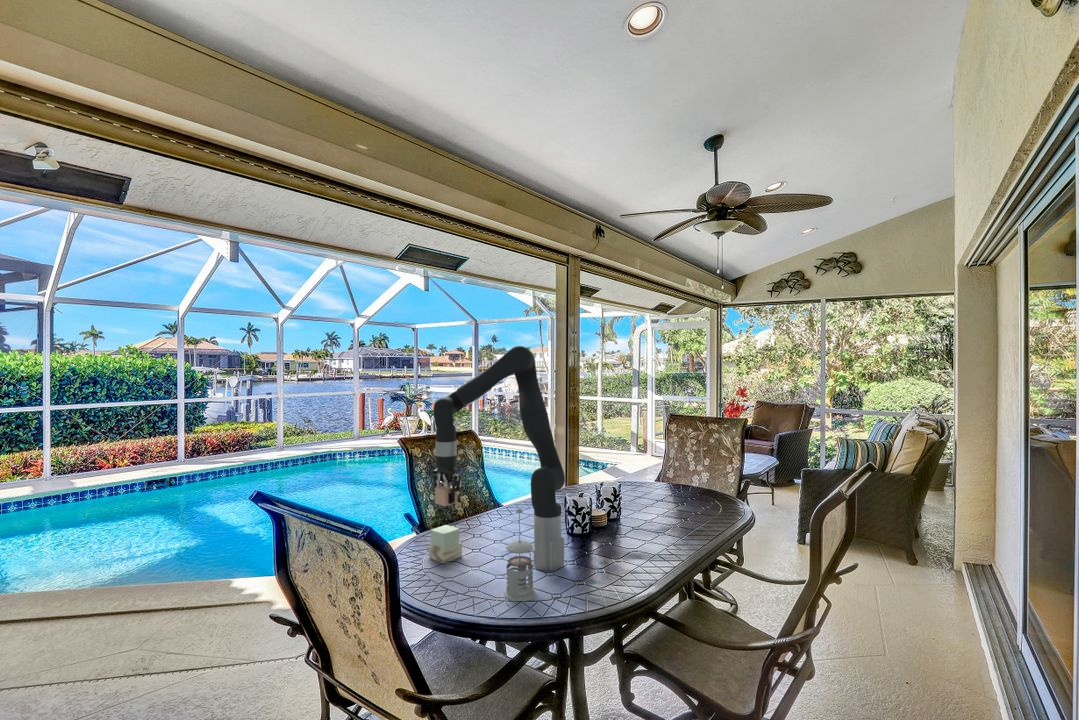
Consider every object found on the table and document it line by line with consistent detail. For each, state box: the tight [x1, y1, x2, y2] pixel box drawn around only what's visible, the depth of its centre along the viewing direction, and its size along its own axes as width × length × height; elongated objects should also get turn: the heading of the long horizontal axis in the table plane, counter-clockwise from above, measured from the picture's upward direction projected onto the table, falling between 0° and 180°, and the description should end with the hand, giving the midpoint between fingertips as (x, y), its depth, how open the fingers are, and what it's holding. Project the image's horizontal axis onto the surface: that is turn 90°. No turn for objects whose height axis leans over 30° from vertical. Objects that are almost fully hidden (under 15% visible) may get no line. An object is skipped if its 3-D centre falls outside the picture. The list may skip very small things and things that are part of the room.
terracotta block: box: [434, 485, 458, 507], centre depth 173 cm, size 6×6×6 cm
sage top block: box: [430, 524, 460, 549], centre depth 172 cm, size 7×7×5 cm
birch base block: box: [428, 541, 463, 564], centre depth 172 cm, size 8×8×5 cm
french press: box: [503, 508, 537, 602], centre depth 145 cm, size 10×12×25 cm
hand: (446, 501), depth 173 cm, fingers closed on terracotta block, 5 cm apart
